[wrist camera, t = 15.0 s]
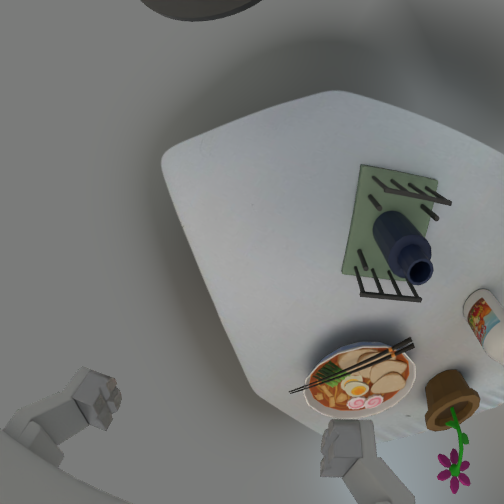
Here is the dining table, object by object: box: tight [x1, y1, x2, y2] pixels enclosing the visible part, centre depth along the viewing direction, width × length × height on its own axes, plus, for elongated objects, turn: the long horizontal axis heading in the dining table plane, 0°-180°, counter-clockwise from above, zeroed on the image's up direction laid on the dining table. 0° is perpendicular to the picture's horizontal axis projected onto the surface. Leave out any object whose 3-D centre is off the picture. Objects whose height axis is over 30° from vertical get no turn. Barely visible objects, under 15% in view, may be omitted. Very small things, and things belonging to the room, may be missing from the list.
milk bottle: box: [463, 289, 504, 366], centre depth 39 cm, size 8×8×20 cm
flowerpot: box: [425, 370, 480, 494], centre depth 45 cm, size 14×14×30 cm
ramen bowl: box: [289, 337, 416, 419], centre depth 54 cm, size 25×23×8 cm
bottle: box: [373, 211, 433, 285], centre depth 38 cm, size 6×6×14 cm
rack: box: [341, 164, 452, 302], centre depth 41 cm, size 18×13×10 cm
